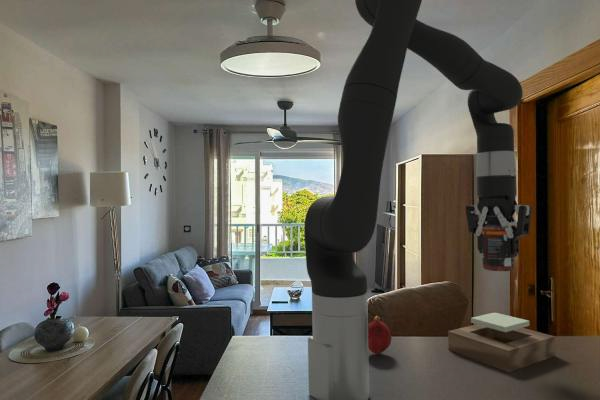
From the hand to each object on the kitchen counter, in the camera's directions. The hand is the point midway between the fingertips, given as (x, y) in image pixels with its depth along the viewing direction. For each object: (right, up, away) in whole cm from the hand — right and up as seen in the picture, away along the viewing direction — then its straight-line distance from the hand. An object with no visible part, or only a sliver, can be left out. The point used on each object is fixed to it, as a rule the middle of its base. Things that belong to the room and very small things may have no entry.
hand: (497, 254), depth 88 cm
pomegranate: (-25, -21, 0) cm, 33 cm away
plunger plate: (0, -14, 0) cm, 14 cm away
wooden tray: (0, -20, 0) cm, 20 cm away
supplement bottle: (0, -3, 0) cm, 3 cm away
